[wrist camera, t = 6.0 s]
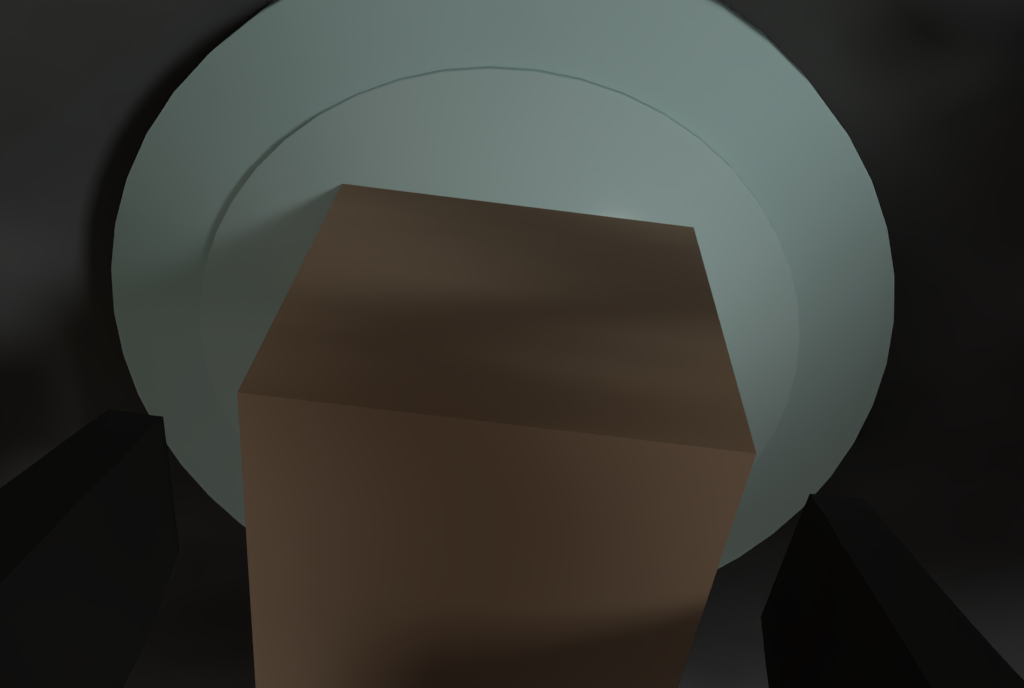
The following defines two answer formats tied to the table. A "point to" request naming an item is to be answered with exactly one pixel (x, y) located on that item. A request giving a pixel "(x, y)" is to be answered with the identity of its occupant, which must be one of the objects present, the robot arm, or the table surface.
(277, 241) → the dish
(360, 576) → the block
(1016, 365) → the table surface
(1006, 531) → the table surface
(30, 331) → the table surface
